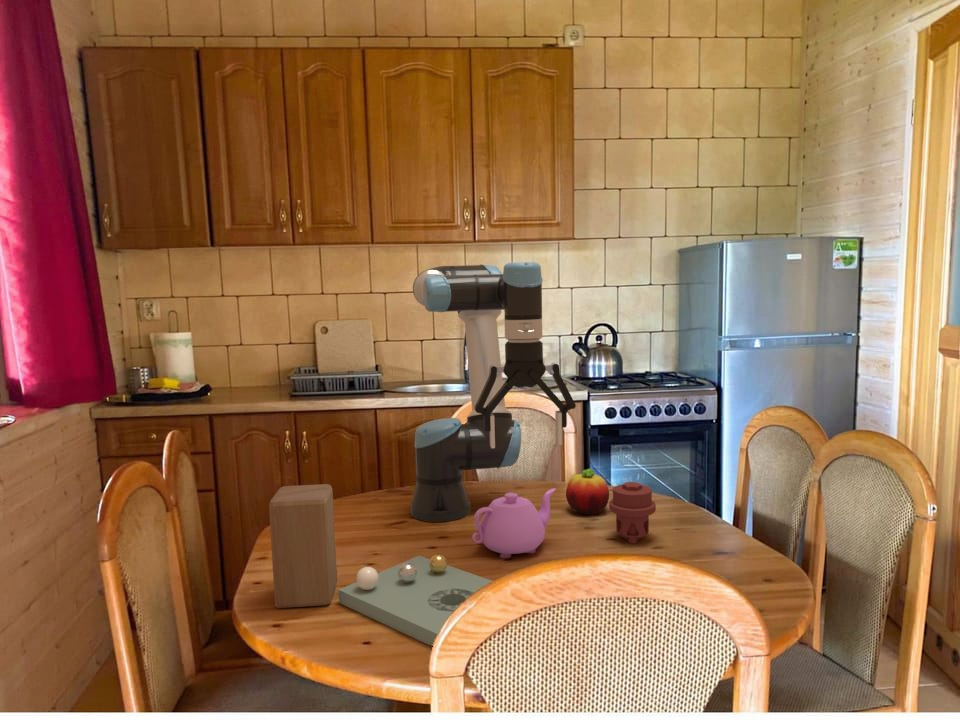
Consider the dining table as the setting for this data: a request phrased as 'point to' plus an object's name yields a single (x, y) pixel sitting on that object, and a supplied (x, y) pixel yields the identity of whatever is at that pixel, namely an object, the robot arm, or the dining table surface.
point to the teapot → (512, 524)
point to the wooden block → (303, 545)
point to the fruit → (587, 493)
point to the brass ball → (438, 563)
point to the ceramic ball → (367, 578)
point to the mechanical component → (632, 510)
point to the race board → (413, 598)
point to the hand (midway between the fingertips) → (525, 445)
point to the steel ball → (407, 572)
